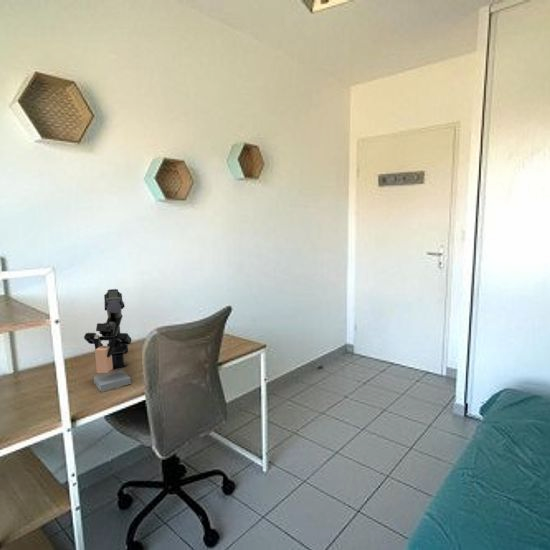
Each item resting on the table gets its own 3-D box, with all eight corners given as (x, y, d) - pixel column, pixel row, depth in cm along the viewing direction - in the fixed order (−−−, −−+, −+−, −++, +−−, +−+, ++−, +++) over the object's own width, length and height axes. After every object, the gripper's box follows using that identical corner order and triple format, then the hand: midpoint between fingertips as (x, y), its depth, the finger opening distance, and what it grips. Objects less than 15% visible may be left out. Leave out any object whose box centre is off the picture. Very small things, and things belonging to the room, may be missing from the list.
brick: (96, 372, 161) (94, 349, 159) (102, 368, 166) (100, 346, 164) (107, 373, 161) (105, 350, 159) (112, 368, 165) (111, 346, 164)
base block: (94, 382, 167) (93, 376, 167) (122, 375, 174) (122, 369, 174) (101, 392, 158) (100, 385, 157) (131, 384, 165) (130, 377, 164)
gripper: (84, 314, 164) (71, 348, 155) (126, 314, 163) (116, 348, 154) (95, 327, 173) (83, 359, 164) (135, 327, 172) (126, 360, 163)
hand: (102, 357), depth 161 cm, fingers closed on brick, 5 cm apart
